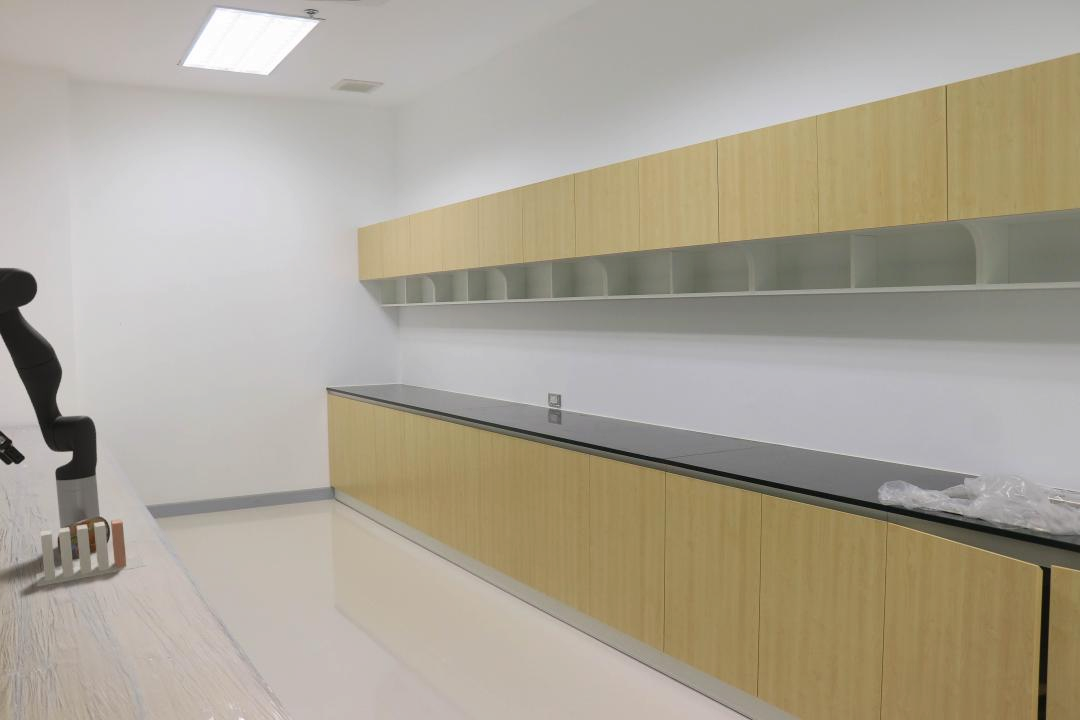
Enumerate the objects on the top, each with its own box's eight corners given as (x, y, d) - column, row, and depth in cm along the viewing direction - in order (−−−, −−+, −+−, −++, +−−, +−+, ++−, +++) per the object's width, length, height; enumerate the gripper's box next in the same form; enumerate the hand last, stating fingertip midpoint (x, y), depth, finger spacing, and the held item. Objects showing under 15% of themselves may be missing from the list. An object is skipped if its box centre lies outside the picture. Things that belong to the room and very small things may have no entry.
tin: (67, 563, 196) (64, 528, 196) (56, 563, 197) (53, 528, 197) (112, 545, 211) (109, 513, 211) (101, 545, 212) (99, 513, 211)
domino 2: (62, 572, 186) (58, 528, 186) (72, 570, 187) (68, 527, 187) (63, 577, 182) (59, 532, 182) (73, 575, 183) (69, 531, 183)
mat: (36, 575, 187) (36, 573, 187) (139, 556, 198) (138, 555, 198) (37, 588, 177) (37, 586, 177) (145, 567, 188) (145, 565, 188)
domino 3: (80, 569, 188) (76, 525, 188) (90, 567, 189) (86, 524, 189) (81, 574, 184) (77, 529, 184) (91, 572, 185) (87, 528, 185)
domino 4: (97, 566, 190) (93, 523, 190) (107, 564, 191) (103, 521, 191) (99, 570, 186) (95, 526, 185) (109, 568, 187) (105, 525, 186)
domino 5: (114, 562, 192) (110, 520, 191) (124, 561, 193) (120, 518, 193) (116, 567, 188) (112, 524, 187) (126, 565, 189) (122, 522, 188)
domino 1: (44, 575, 185) (40, 531, 184) (54, 573, 186) (50, 530, 185) (45, 581, 180) (40, 535, 180) (55, 579, 181) (51, 534, 181)
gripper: (-20, 393, 171) (39, 449, 177) (-33, 397, 181) (23, 450, 188) (-53, 417, 167) (9, 474, 173) (-65, 421, 177) (-6, 474, 183)
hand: (16, 462), depth 180 cm, fingers open, 8 cm apart
